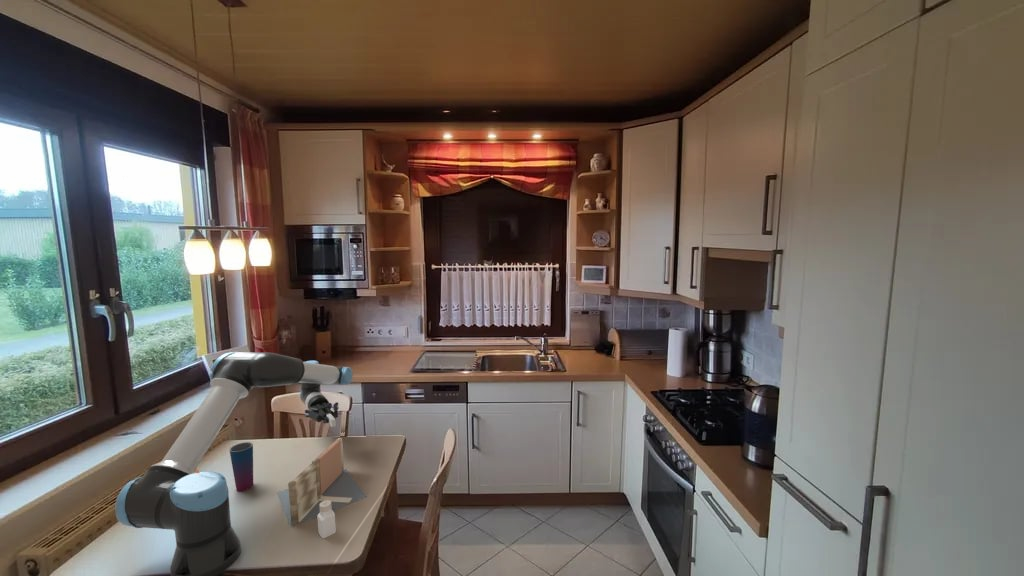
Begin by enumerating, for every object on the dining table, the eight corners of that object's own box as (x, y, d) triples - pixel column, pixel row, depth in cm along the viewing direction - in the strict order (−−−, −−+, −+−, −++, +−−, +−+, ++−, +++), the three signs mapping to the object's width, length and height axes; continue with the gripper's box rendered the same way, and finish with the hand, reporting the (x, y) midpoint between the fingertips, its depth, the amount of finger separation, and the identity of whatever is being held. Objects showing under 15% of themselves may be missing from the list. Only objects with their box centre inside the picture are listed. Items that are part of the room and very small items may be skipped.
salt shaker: (331, 526, 123) (329, 497, 122) (336, 533, 120) (334, 503, 119) (317, 533, 120) (315, 503, 119) (322, 540, 117) (320, 509, 116)
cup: (230, 487, 143) (227, 447, 141) (253, 479, 148) (249, 440, 146) (236, 495, 139) (232, 453, 137) (258, 486, 143) (255, 446, 142)
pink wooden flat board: (322, 494, 137) (320, 459, 136) (317, 494, 137) (315, 458, 136) (345, 470, 152) (343, 437, 150) (340, 469, 152) (338, 437, 151)
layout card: (290, 528, 122) (290, 526, 122) (276, 493, 139) (276, 492, 139) (366, 497, 137) (366, 496, 137) (346, 469, 154) (346, 468, 154)
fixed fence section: (316, 496, 137) (314, 459, 136) (322, 496, 137) (319, 460, 135) (289, 525, 123) (286, 484, 122) (296, 525, 123) (292, 485, 122)
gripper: (334, 408, 175) (352, 427, 157) (300, 416, 167) (315, 438, 149) (333, 391, 174) (350, 408, 156) (299, 399, 166) (314, 418, 148)
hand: (333, 423), depth 153 cm, fingers closed
